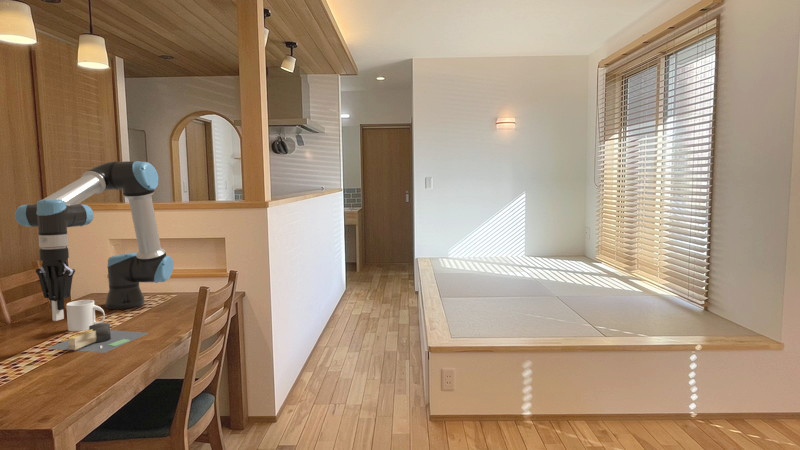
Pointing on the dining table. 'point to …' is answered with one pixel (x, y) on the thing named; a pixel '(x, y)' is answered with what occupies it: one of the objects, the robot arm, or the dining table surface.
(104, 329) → the dial lever
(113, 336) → the gauge board
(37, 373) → the dining table surface
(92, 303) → the mug
